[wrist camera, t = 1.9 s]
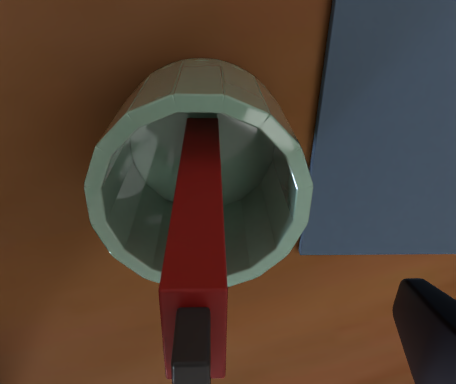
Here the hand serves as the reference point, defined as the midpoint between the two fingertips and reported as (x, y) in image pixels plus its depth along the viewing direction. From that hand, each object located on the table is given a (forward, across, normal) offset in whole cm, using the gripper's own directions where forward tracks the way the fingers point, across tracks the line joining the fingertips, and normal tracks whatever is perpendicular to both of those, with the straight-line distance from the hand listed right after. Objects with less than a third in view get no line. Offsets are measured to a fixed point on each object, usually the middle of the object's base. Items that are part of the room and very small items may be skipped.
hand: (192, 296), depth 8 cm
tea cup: (+9, 0, 0) cm, 9 cm away
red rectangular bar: (+8, 0, 0) cm, 8 cm away
